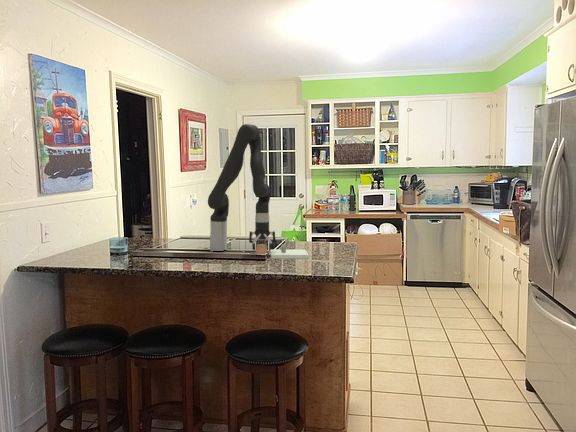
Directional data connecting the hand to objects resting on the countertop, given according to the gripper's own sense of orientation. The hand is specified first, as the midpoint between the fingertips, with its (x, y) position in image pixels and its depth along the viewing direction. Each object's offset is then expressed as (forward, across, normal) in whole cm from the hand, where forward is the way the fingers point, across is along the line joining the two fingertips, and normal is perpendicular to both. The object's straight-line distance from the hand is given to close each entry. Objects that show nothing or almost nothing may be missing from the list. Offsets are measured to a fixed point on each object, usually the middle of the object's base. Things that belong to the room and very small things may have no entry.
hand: (262, 250), depth 261 cm
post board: (+3, +15, -1) cm, 15 cm away
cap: (+3, 0, 0) cm, 3 cm away
